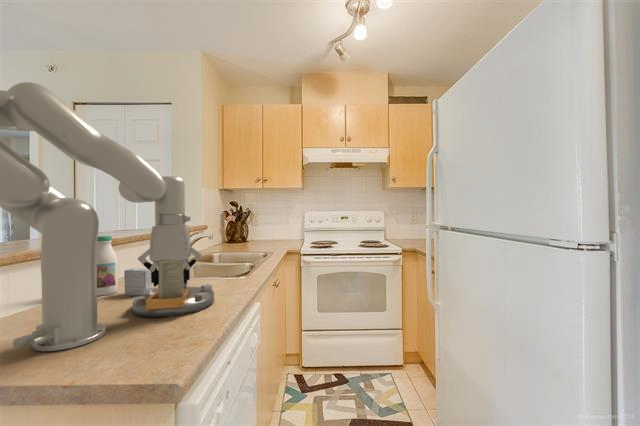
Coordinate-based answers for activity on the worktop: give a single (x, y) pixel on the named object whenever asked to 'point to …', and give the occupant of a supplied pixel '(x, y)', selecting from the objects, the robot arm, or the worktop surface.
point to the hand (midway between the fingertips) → (171, 283)
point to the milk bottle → (106, 267)
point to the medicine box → (137, 281)
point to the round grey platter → (173, 302)
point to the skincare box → (170, 279)
